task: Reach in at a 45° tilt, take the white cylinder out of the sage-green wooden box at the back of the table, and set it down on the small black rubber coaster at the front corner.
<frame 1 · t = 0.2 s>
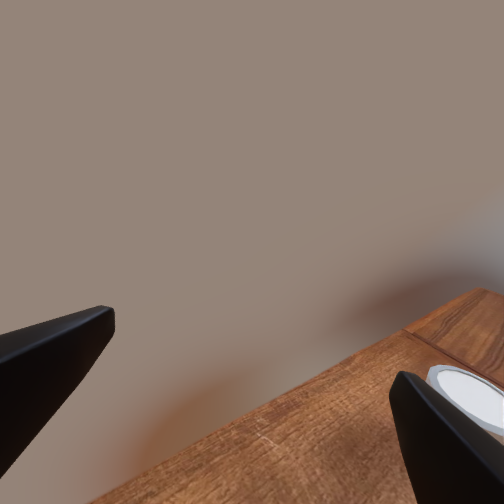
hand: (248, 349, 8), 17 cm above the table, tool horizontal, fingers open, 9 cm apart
faceted white cup: (441, 454, 23), on the table
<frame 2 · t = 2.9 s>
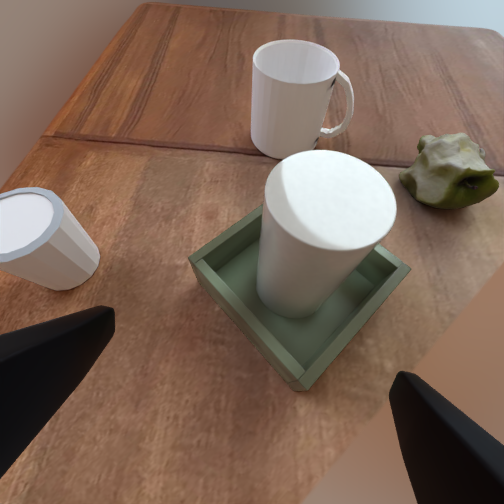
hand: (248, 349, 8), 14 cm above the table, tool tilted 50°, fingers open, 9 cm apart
wooden box: (290, 285, 24), on the table
faceted white cup: (70, 264, 25), on the table
white cylinder: (291, 282, 24), point 1 cm above the table, touching wooden box
fruit: (429, 192, 31), on the table
mug: (293, 142, 35), on the table
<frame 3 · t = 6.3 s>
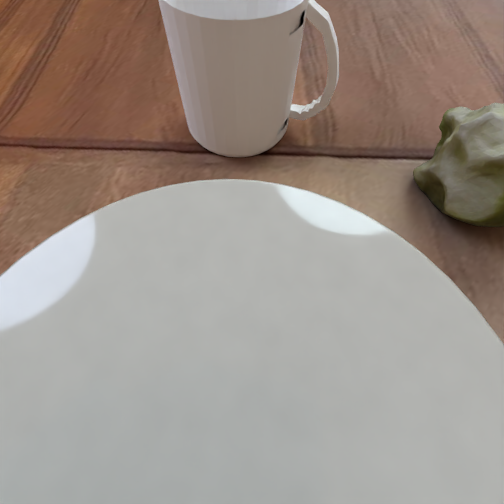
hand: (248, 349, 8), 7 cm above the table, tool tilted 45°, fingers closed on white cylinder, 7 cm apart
white cylinder: (241, 388, 13), point 1 cm above the table, touching gripper, wooden box
fruit: (458, 195, 20), on the table
mug: (253, 129, 23), on the table
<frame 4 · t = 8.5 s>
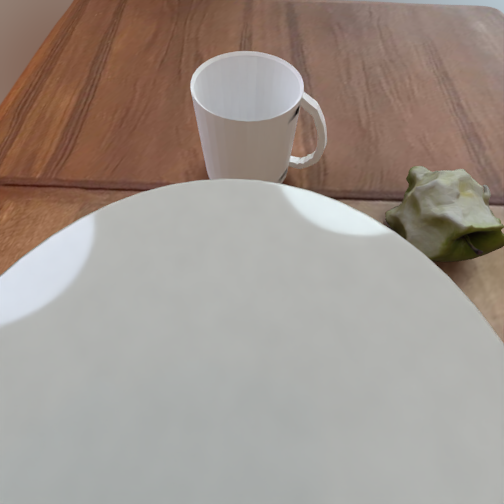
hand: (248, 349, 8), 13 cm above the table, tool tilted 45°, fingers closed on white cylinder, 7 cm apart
white cylinder: (242, 388, 13), point 7 cm above the table, touching gripper
fruit: (421, 232, 26), on the table
mug: (259, 173, 29), on the table
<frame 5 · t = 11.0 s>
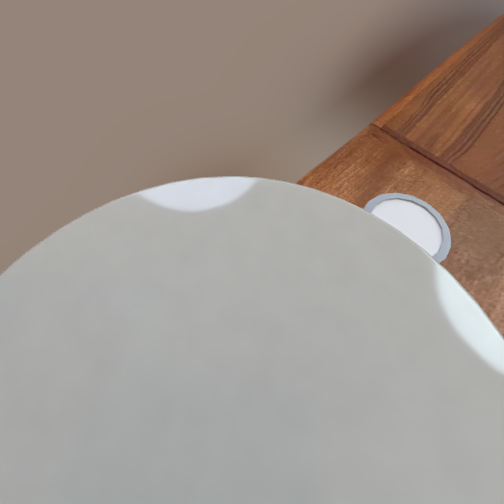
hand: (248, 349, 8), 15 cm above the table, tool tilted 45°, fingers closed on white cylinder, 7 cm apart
faceted white cup: (366, 263, 26), on the table
white cylinder: (242, 387, 13), point 9 cm above the table, touching gripper
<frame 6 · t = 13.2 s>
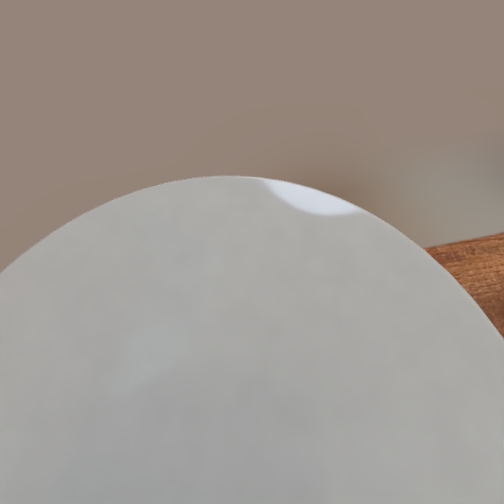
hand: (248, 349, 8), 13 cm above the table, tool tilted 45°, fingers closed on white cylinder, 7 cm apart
white cylinder: (242, 387, 13), point 7 cm above the table, touching gripper
when the fingers open (7 cm above the table, at t = 15.6 s): white cylinder stays where it is, resting on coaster.
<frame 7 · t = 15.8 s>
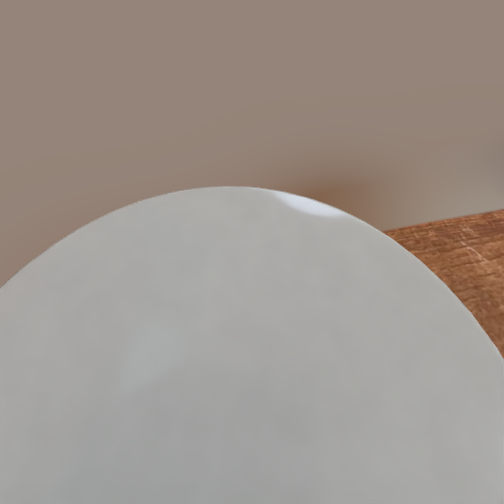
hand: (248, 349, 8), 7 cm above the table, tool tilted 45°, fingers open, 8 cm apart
white cylinder: (242, 389, 13), resting on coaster
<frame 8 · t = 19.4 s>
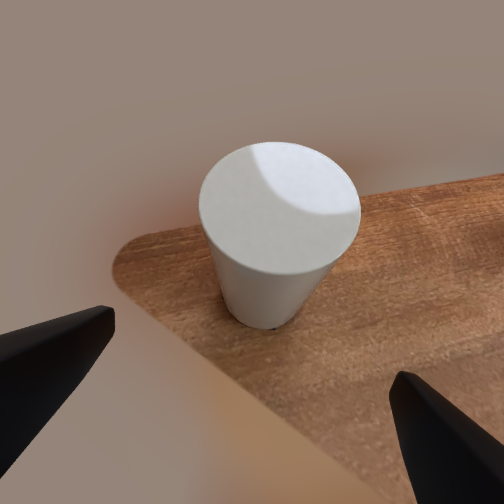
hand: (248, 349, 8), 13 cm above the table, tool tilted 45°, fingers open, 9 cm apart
white cylinder: (263, 287, 21), resting on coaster
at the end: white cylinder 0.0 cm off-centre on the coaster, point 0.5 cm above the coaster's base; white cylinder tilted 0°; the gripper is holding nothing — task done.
